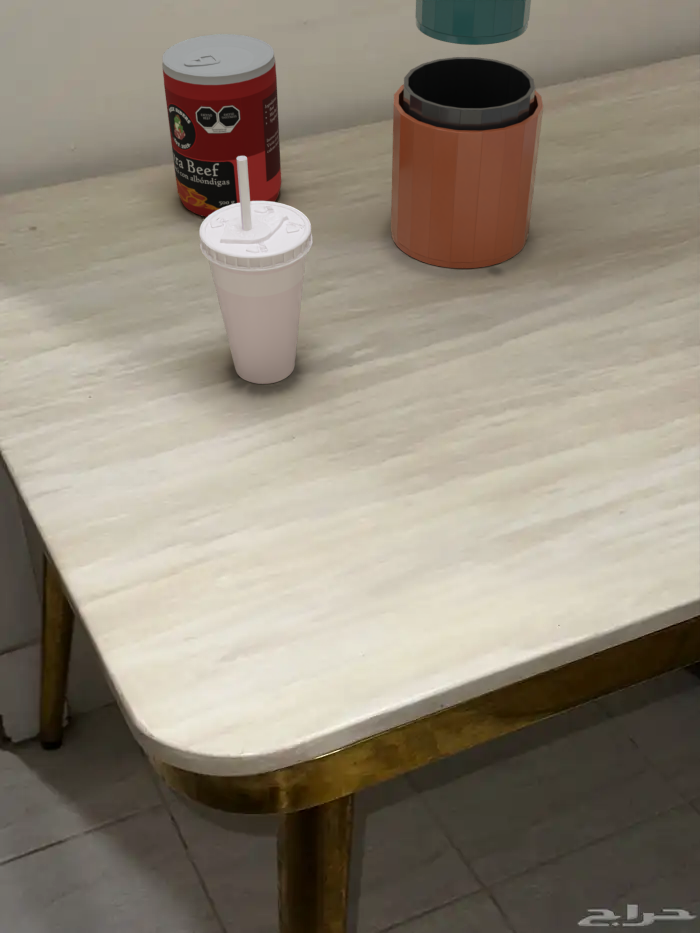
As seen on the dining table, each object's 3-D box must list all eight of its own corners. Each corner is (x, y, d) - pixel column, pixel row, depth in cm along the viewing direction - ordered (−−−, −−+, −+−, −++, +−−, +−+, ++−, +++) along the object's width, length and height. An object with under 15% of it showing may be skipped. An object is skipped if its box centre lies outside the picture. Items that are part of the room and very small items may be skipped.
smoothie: (193, 362, 69) (167, 152, 60) (275, 324, 72) (262, 118, 63) (254, 411, 65) (236, 196, 56) (337, 369, 68) (334, 158, 59)
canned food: (158, 195, 85) (139, 52, 78) (241, 162, 89) (230, 24, 82) (218, 232, 81) (204, 85, 73) (302, 197, 85) (297, 54, 77)
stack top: (493, 197, 84) (506, 51, 77) (536, 253, 78) (555, 101, 71) (385, 212, 83) (387, 64, 75) (421, 271, 77) (427, 117, 69)
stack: (498, 192, 85) (509, 63, 78) (548, 257, 78) (566, 121, 71) (374, 209, 83) (375, 79, 76) (415, 277, 76) (420, 141, 69)
